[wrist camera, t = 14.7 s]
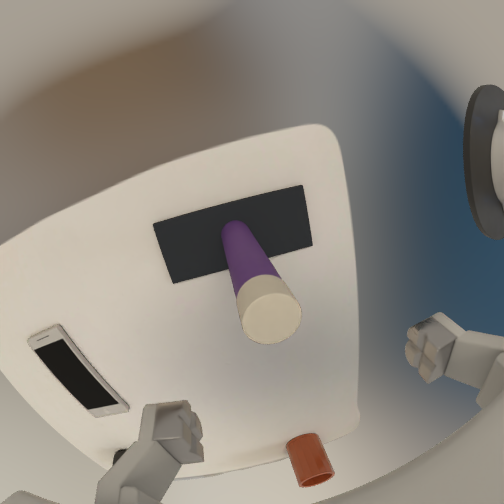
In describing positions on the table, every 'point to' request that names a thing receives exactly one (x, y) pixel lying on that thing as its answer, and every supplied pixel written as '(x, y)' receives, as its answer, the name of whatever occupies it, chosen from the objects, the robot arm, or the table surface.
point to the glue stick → (258, 288)
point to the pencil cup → (309, 460)
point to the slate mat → (215, 218)
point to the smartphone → (75, 372)
